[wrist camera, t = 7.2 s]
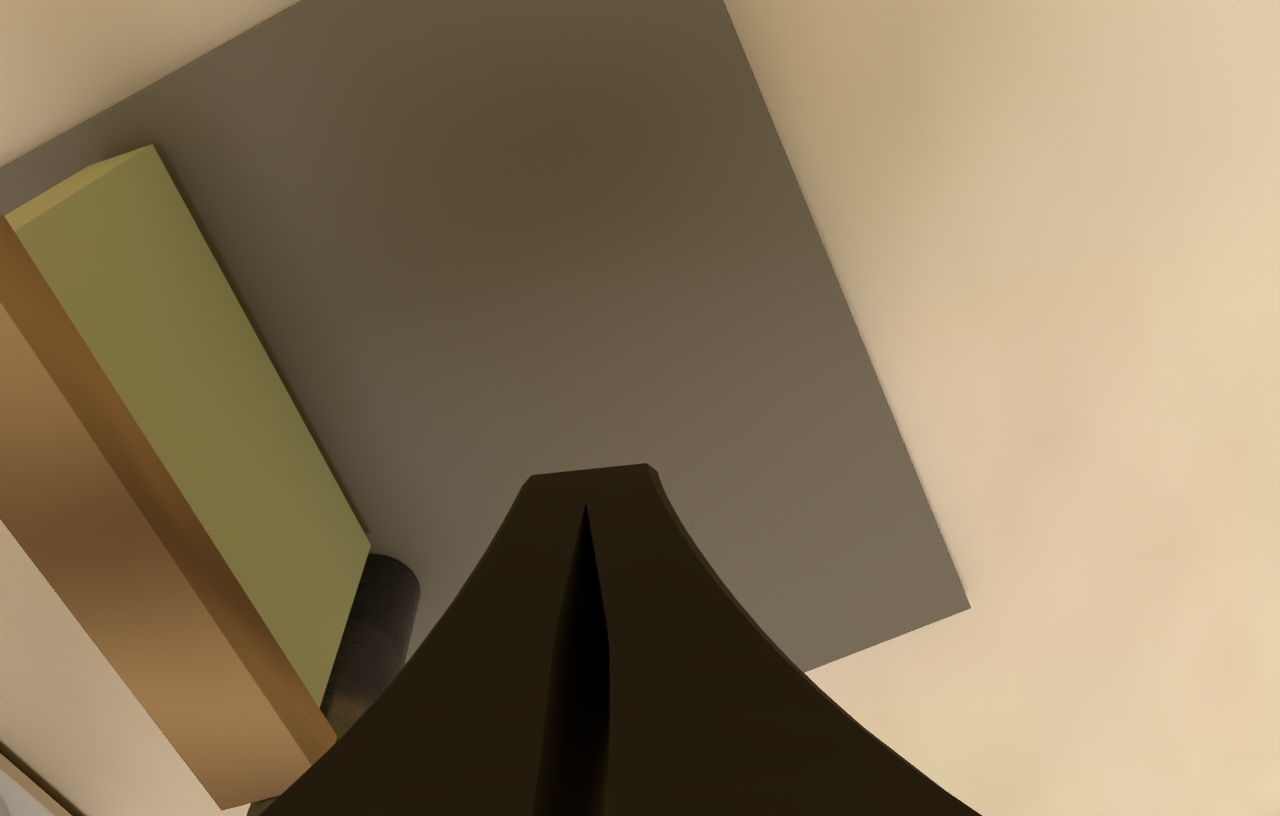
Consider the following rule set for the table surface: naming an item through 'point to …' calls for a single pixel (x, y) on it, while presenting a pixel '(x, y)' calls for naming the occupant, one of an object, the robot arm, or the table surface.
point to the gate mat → (539, 299)
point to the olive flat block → (170, 477)
